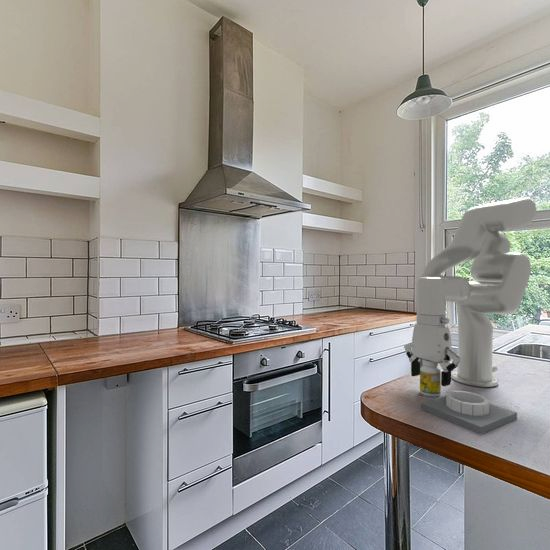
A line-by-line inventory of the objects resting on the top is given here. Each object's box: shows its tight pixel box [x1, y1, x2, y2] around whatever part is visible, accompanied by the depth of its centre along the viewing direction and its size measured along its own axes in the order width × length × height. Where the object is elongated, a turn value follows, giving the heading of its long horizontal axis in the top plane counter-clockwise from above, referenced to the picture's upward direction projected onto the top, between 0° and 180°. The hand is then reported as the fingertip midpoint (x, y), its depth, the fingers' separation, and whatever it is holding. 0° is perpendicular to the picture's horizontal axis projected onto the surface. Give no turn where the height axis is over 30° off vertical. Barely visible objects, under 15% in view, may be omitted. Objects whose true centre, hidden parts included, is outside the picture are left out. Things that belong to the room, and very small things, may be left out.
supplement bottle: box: [419, 359, 442, 398], centre depth 95 cm, size 5×5×10 cm
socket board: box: [419, 390, 518, 435], centre depth 82 cm, size 15×15×4 cm
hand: (430, 380), depth 95 cm, fingers open, 9 cm apart
